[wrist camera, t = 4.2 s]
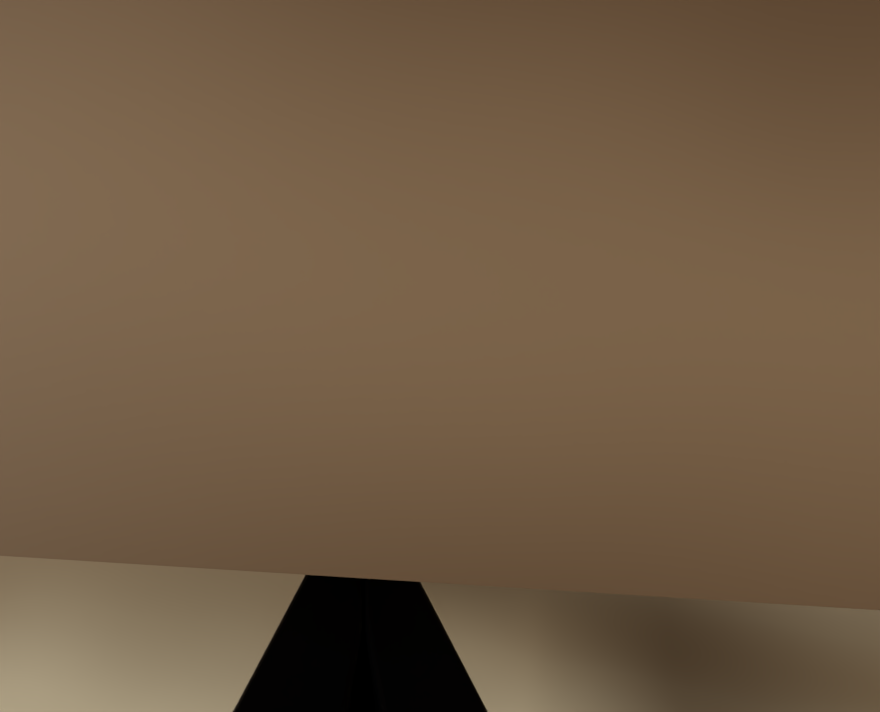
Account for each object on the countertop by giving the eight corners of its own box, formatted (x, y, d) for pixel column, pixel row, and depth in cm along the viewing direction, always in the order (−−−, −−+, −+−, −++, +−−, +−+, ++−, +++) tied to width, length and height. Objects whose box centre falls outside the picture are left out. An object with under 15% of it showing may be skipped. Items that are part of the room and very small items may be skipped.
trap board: (841, 828, 17) (973, 909, 14) (-342, 801, 14) (-545, 900, 11) (836, -36, 21) (940, -139, 18) (-115, -215, 18) (-216, -385, 14)
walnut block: (537, 536, 15) (951, 614, 6) (141, 508, 14) (-202, 543, 5) (556, 175, 17) (924, -280, 7) (192, 125, 15) (9, -497, 6)
